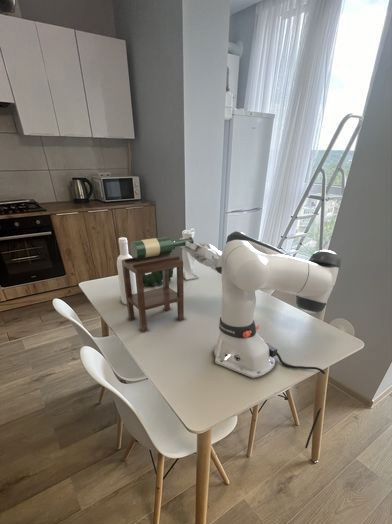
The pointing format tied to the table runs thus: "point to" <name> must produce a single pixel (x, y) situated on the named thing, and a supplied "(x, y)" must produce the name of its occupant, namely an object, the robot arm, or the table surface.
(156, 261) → the stand
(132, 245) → the bottle
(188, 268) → the skyscraper
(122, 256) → the bottle
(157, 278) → the toy figurine
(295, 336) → the table surface
